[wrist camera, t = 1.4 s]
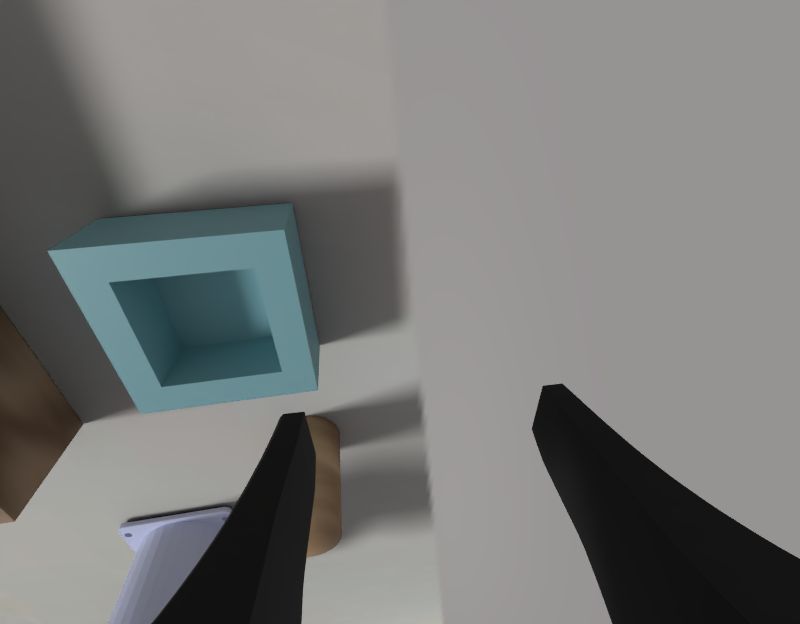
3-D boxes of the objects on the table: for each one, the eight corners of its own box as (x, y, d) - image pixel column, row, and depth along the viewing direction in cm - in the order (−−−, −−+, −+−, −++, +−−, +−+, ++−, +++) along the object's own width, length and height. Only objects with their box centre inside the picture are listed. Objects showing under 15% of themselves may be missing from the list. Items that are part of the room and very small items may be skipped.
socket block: (319, 346, 23) (317, 390, 20) (167, 365, 22) (140, 413, 19) (292, 202, 18) (284, 229, 15) (97, 218, 17) (47, 250, 14)
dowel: (342, 450, 28) (345, 550, 22) (287, 459, 28) (275, 563, 22) (335, 412, 26) (336, 511, 20) (275, 420, 26) (258, 524, 20)
